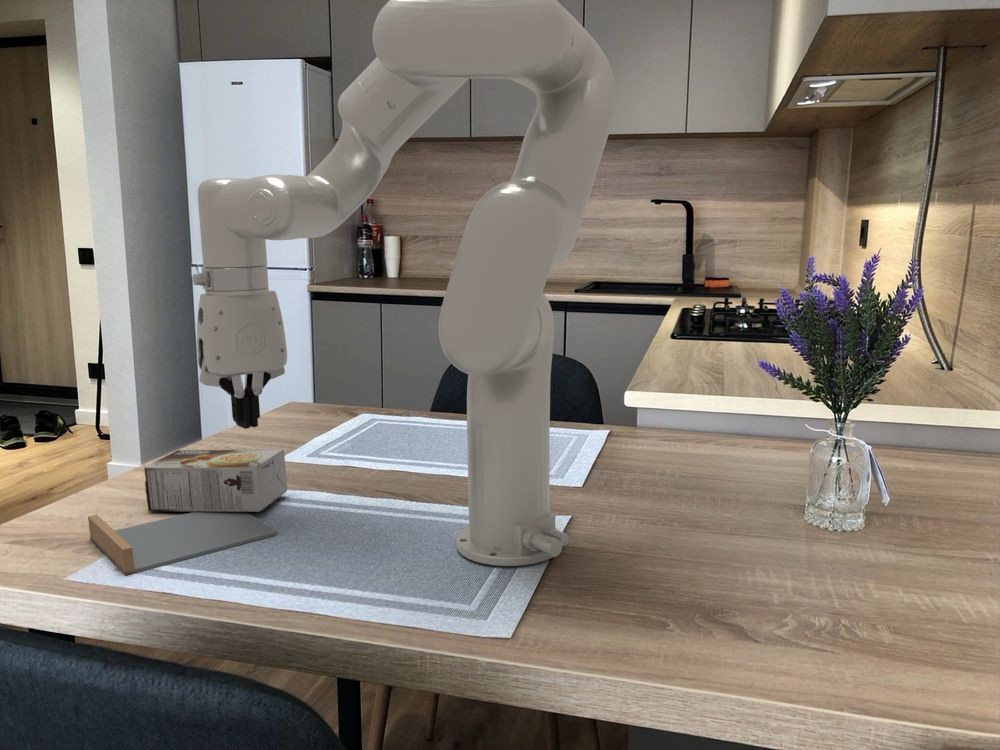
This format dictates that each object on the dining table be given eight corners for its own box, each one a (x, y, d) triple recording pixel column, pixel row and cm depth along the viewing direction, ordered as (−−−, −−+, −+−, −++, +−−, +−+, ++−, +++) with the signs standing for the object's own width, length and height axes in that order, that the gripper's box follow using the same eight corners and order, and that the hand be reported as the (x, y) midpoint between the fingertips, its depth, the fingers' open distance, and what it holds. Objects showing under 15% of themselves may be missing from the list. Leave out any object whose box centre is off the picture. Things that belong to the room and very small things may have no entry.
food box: (288, 492, 118) (183, 492, 121) (284, 448, 117) (179, 448, 120) (259, 513, 109) (147, 512, 112) (255, 465, 108) (141, 465, 111)
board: (277, 534, 104) (276, 511, 103) (125, 575, 93) (122, 549, 92) (232, 505, 114) (230, 484, 114) (90, 539, 103) (87, 516, 103)
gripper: (187, 287, 96) (199, 442, 99) (306, 279, 105) (314, 421, 109) (164, 283, 101) (177, 430, 105) (279, 276, 111) (287, 411, 114)
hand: (246, 425), depth 107 cm, fingers closed
